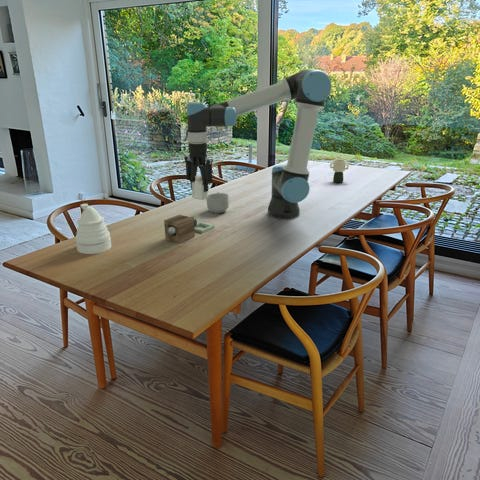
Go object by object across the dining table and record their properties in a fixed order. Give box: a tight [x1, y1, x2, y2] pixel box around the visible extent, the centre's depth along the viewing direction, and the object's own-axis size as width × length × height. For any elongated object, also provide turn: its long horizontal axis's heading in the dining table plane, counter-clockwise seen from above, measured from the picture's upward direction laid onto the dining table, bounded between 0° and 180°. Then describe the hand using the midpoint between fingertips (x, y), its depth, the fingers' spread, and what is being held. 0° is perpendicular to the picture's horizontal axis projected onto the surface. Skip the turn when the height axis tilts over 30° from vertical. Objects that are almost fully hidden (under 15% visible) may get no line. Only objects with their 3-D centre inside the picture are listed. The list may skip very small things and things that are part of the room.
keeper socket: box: [194, 221, 215, 234], centre depth 195 cm, size 8×8×1 cm
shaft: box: [168, 216, 198, 235], centre depth 185 cm, size 5×14×5 cm, turn 145°
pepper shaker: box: [193, 175, 203, 201], centre depth 189 cm, size 4×4×10 cm
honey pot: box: [75, 203, 112, 255], centre depth 173 cm, size 13×13×18 cm
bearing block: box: [163, 214, 196, 244], centre depth 184 cm, size 8×9×8 cm
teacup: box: [205, 191, 230, 214], centre depth 218 cm, size 14×11×8 cm
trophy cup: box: [329, 158, 350, 183], centre depth 268 cm, size 11×7×13 cm, turn 64°
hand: (199, 197), depth 191 cm, fingers closed on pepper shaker, 5 cm apart
